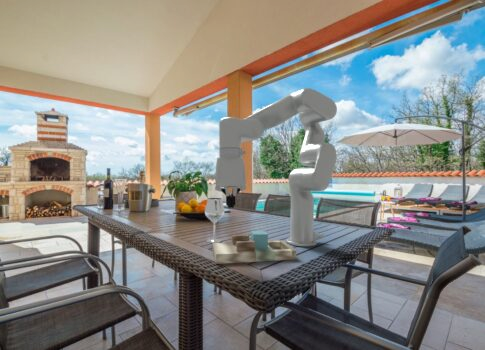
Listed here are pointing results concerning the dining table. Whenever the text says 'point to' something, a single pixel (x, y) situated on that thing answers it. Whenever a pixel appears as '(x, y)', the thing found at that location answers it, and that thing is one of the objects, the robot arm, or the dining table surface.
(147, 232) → the dining table surface
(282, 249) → the board
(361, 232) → the dining table surface
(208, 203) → the wineglass
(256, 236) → the teal cube
